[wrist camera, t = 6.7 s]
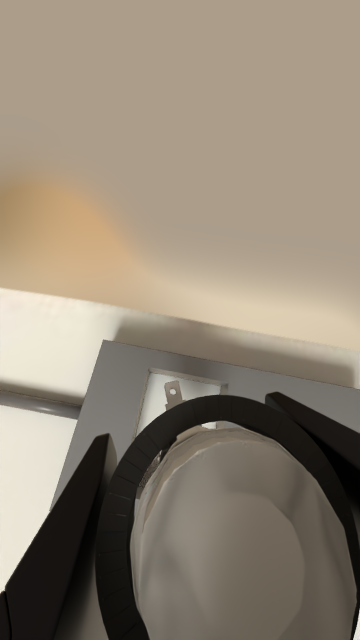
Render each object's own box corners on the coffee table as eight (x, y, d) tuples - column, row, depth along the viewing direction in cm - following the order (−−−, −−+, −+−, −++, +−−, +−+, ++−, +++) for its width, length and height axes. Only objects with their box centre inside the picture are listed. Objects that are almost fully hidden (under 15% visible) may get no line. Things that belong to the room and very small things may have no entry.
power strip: (354, 395, 21) (384, 392, 18) (369, 555, 17) (411, 583, 14) (13, 328, 21) (-9, 316, 18) (-55, 474, 17) (-99, 487, 14)
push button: (128, 394, 14) (63, 356, 5) (213, 375, 15) (299, 311, 6) (147, 530, 12) (95, 962, 3) (246, 499, 13) (486, 740, 3)
